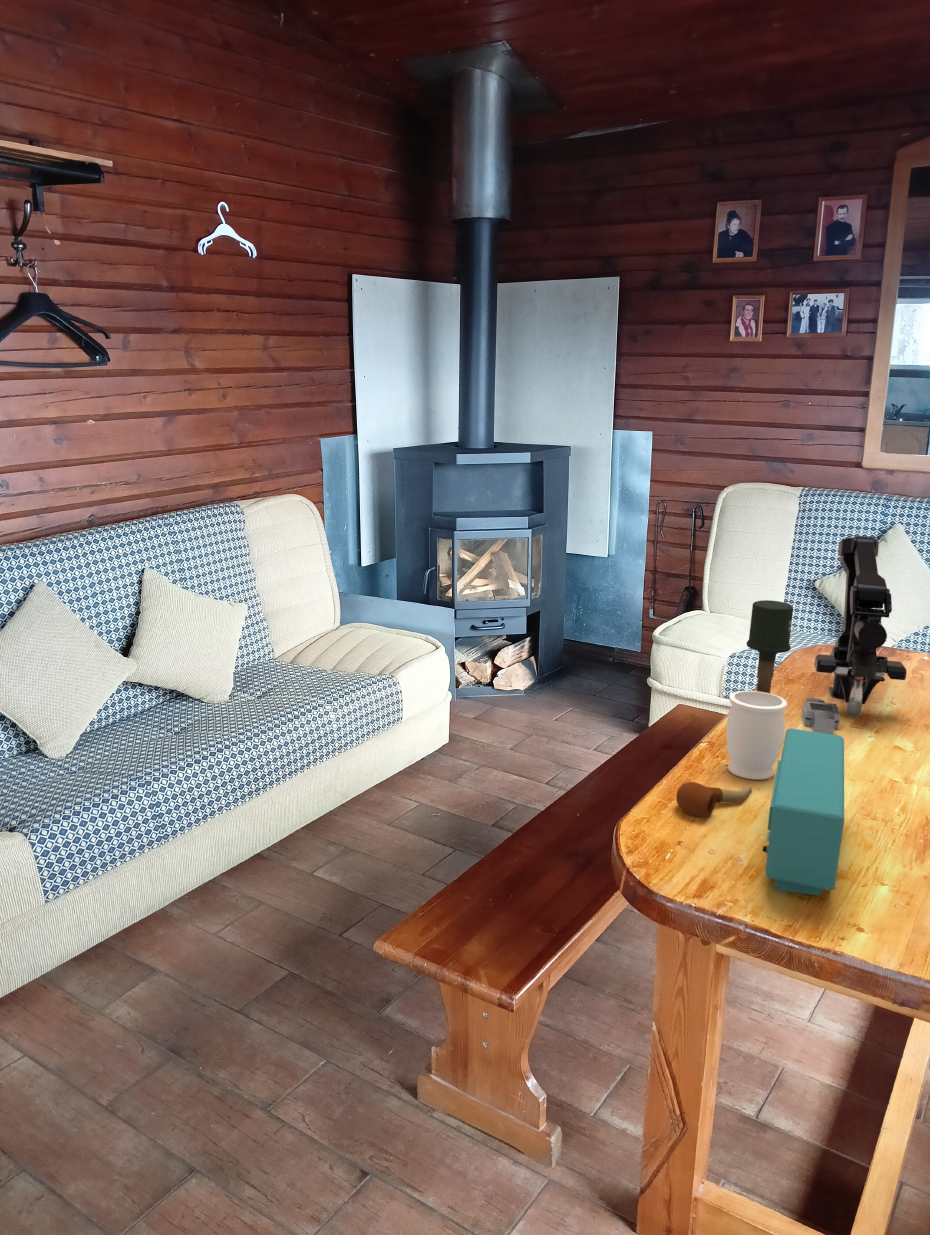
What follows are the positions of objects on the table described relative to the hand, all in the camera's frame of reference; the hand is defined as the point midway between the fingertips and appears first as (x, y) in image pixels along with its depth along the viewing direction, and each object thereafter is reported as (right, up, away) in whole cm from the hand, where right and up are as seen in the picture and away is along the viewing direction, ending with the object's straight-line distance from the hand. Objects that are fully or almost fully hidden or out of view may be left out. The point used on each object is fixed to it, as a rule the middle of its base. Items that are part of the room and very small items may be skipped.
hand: (854, 702), depth 214 cm
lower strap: (-9, -3, 0) cm, 9 cm away
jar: (-34, -11, -32) cm, 48 cm away
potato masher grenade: (-28, -7, -17) cm, 33 cm away
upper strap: (-10, -4, -6) cm, 13 cm away
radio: (-35, -19, -63) cm, 74 cm away
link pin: (0, -3, +1) cm, 3 cm away
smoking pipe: (-45, -14, -46) cm, 66 cm away
